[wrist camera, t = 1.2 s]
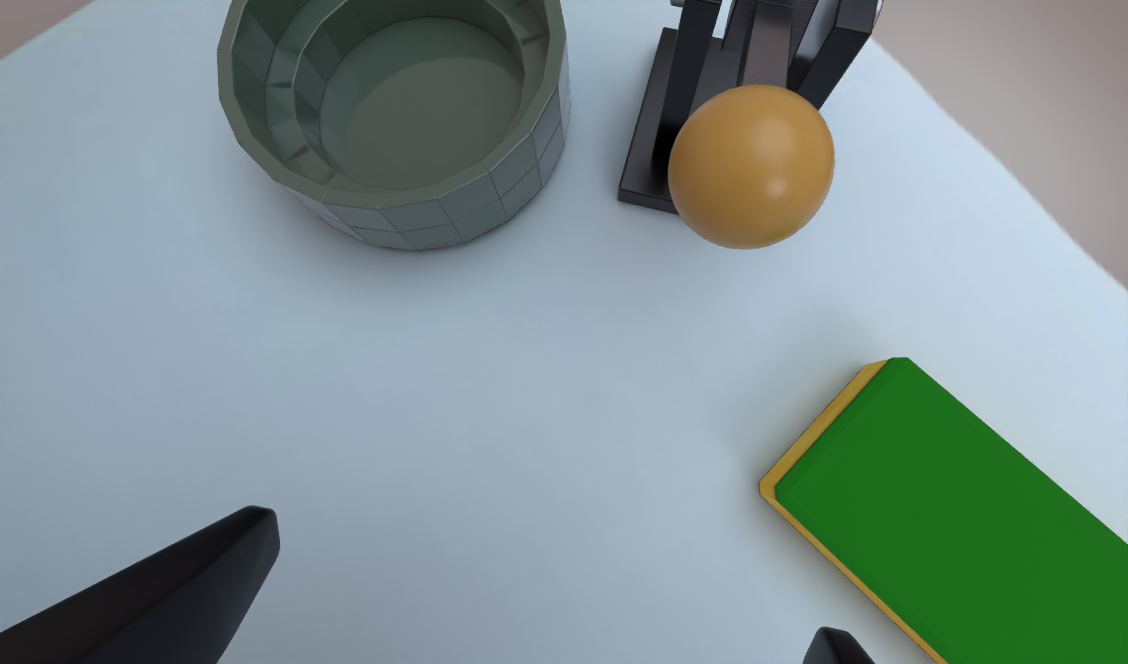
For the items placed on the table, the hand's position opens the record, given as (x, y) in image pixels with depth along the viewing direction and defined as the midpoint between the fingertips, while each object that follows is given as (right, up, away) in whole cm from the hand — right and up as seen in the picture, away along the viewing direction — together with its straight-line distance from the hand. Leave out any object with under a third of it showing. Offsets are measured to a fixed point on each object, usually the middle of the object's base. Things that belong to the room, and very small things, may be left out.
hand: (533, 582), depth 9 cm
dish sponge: (+15, -4, +12) cm, 20 cm away
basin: (-6, +14, +17) cm, 23 cm away
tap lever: (+6, +10, +7) cm, 14 cm away
